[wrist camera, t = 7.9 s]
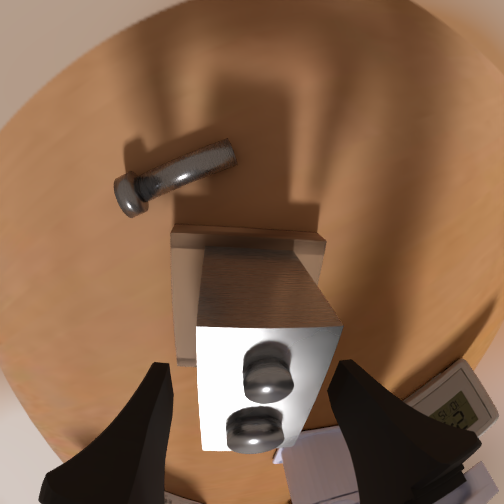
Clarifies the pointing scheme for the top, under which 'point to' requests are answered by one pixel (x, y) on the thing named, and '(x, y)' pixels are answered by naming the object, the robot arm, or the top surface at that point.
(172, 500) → the hard drive box
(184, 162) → the loose bolt
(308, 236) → the stand
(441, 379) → the digital clock
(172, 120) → the top surface
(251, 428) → the housing
